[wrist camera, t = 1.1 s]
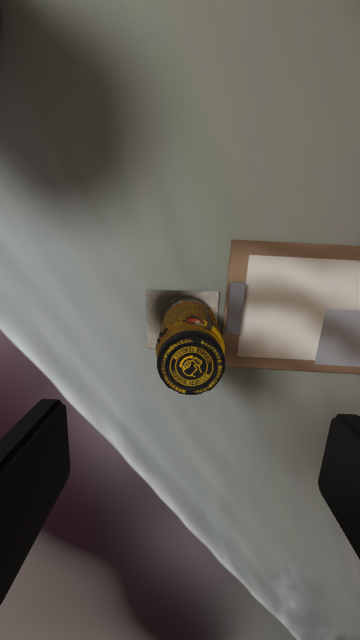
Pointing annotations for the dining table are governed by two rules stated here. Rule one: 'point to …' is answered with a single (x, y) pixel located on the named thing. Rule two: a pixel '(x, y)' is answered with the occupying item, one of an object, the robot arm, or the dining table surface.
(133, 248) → the dining table surface
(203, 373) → the condiment
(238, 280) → the clipboard
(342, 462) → the robot arm
